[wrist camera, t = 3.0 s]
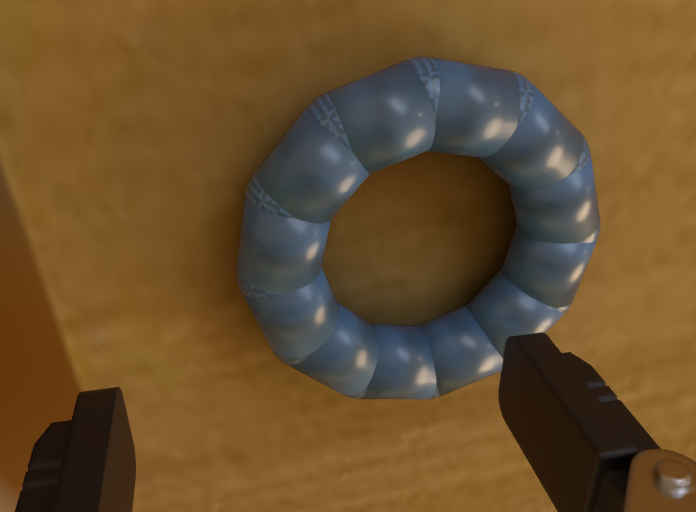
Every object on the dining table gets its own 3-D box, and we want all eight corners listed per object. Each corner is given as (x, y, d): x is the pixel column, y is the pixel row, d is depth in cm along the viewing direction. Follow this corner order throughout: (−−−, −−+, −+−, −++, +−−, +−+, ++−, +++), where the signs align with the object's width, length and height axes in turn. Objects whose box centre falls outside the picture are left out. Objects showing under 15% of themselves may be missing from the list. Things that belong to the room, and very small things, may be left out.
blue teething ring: (163, 270, 20) (160, 314, 17) (405, -35, 17) (435, -25, 15) (415, 412, 24) (436, 459, 22) (633, 193, 22) (680, 224, 20)
